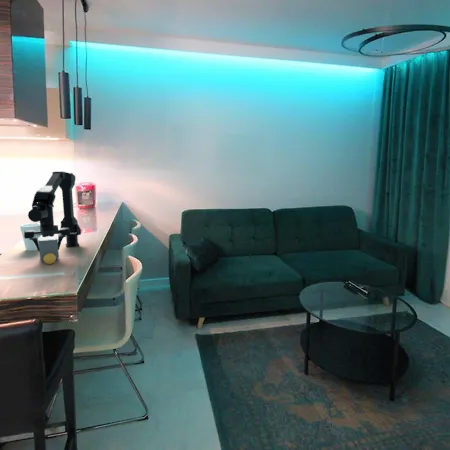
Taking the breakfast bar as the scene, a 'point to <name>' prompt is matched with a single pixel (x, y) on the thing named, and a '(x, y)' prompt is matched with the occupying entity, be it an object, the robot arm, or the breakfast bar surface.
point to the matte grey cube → (48, 246)
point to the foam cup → (28, 243)
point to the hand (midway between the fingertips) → (48, 250)
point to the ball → (49, 258)
